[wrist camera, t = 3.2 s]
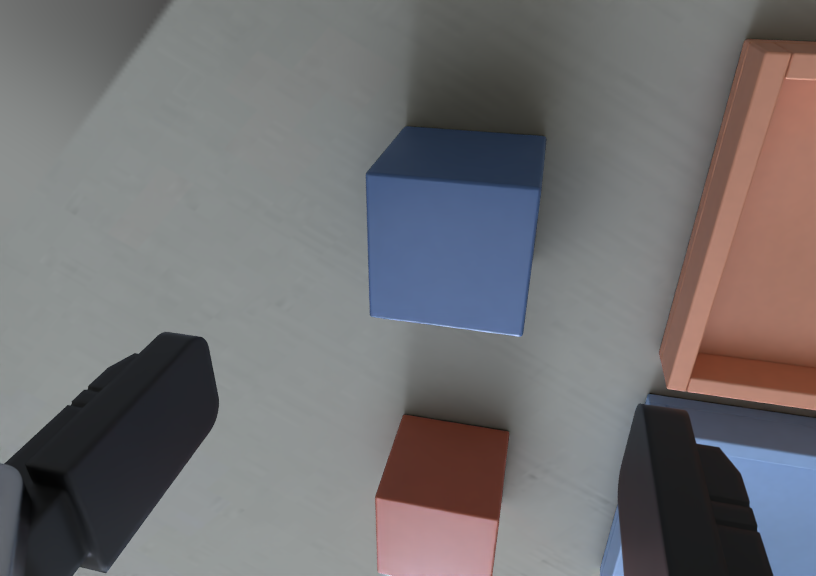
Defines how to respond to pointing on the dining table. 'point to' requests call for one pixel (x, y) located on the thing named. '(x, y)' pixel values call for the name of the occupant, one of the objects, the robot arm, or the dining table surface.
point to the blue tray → (756, 478)
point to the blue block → (454, 228)
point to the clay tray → (754, 242)
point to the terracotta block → (440, 499)
